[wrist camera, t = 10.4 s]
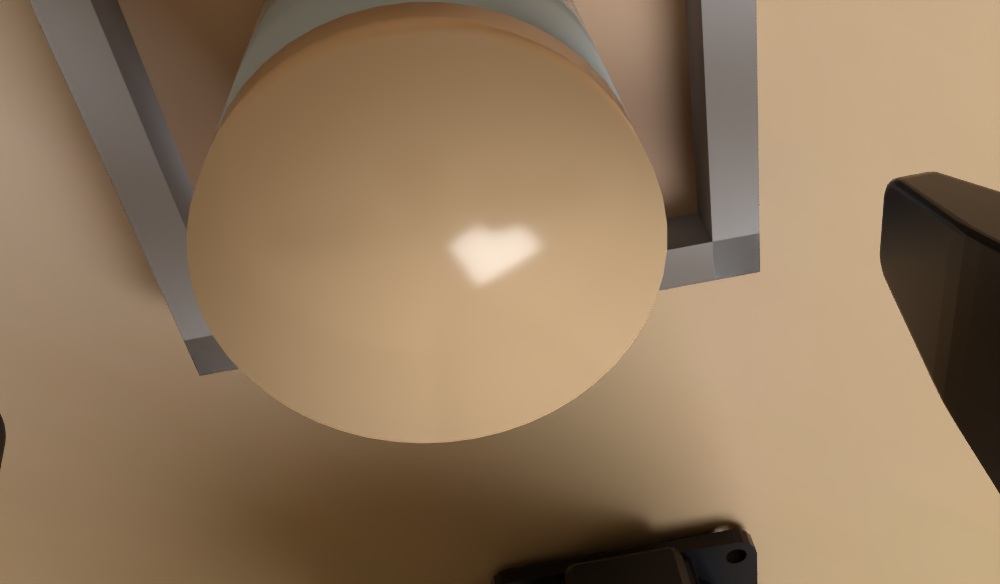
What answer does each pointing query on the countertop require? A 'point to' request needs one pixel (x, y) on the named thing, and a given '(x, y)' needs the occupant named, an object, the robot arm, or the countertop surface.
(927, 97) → the countertop surface
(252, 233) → the slate jar
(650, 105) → the lane
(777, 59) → the countertop surface
